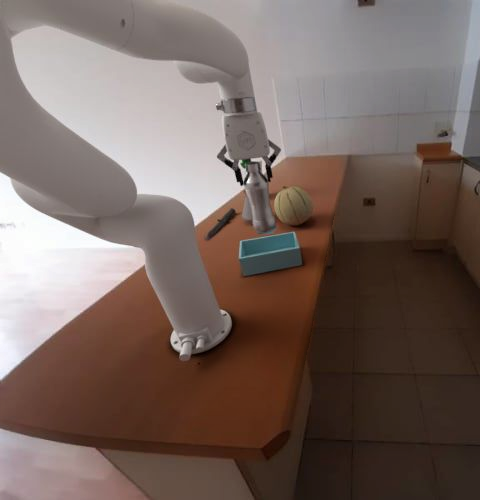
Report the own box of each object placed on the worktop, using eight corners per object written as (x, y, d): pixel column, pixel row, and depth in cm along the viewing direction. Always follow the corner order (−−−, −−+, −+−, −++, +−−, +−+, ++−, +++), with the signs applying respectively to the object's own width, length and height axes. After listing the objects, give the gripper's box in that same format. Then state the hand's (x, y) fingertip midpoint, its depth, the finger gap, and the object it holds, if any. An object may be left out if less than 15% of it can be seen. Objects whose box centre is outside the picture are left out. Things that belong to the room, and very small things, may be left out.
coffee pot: (266, 226, 109) (259, 189, 102) (239, 226, 110) (229, 190, 103) (281, 206, 127) (275, 173, 120) (257, 206, 129) (250, 174, 121)
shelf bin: (302, 265, 83) (299, 247, 80) (243, 276, 80) (238, 258, 77) (297, 247, 93) (294, 231, 90) (244, 257, 90) (240, 240, 86)
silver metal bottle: (272, 238, 78) (259, 166, 68) (250, 237, 79) (234, 166, 69) (281, 228, 83) (269, 159, 73) (260, 227, 85) (246, 160, 75)
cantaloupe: (312, 231, 102) (307, 192, 95) (273, 232, 104) (265, 193, 96) (316, 215, 115) (313, 179, 108) (282, 216, 116) (276, 181, 109)
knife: (229, 211, 123) (230, 206, 122) (238, 216, 124) (240, 211, 122) (196, 236, 102) (198, 231, 101) (208, 242, 103) (210, 237, 102)
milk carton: (245, 200, 138) (235, 158, 128) (258, 194, 144) (250, 154, 134) (257, 202, 134) (248, 159, 124) (270, 196, 140) (263, 155, 130)
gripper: (198, 111, 60) (220, 191, 69) (278, 104, 63) (289, 182, 72) (203, 109, 66) (223, 183, 75) (276, 103, 70) (286, 174, 79)
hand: (255, 182), depth 74 cm, fingers closed on silver metal bottle, 6 cm apart
